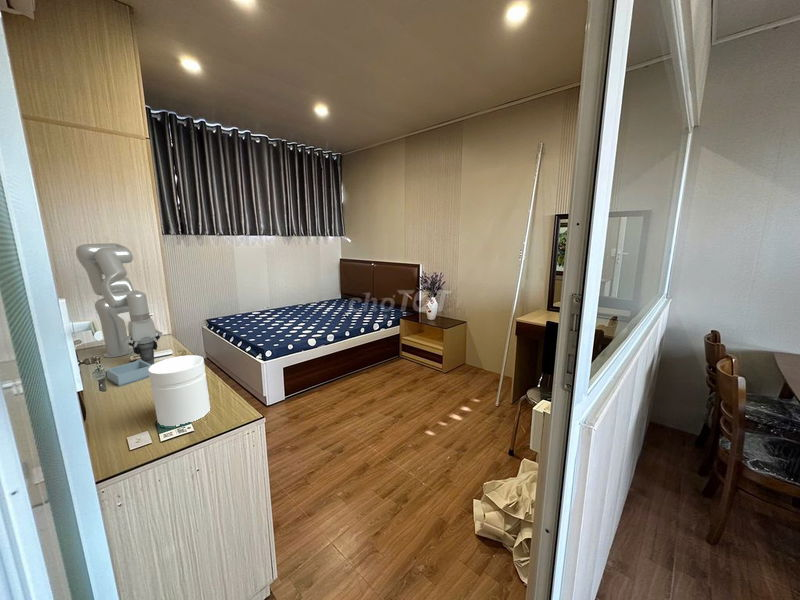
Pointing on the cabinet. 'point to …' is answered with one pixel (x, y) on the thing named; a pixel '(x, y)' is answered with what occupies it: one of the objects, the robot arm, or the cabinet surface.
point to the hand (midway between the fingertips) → (146, 351)
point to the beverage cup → (146, 349)
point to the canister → (179, 390)
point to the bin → (128, 373)
